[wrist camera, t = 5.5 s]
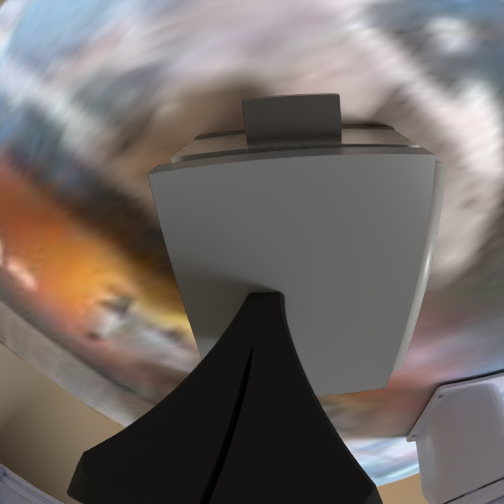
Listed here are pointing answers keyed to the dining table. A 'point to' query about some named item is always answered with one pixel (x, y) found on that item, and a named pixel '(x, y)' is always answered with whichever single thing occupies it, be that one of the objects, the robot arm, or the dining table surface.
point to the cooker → (291, 129)
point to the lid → (308, 249)
